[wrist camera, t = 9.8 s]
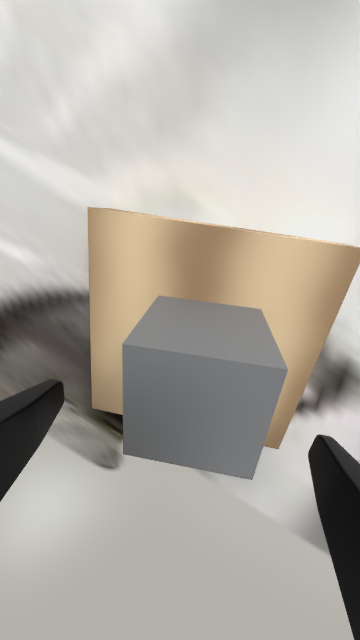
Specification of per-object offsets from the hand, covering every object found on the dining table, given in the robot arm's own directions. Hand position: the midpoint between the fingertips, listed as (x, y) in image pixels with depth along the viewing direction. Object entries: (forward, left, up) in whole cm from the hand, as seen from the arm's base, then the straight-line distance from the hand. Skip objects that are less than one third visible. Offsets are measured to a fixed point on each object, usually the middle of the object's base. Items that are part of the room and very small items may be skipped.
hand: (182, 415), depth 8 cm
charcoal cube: (0, 0, -5) cm, 5 cm away
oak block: (0, 0, -8) cm, 8 cm away
